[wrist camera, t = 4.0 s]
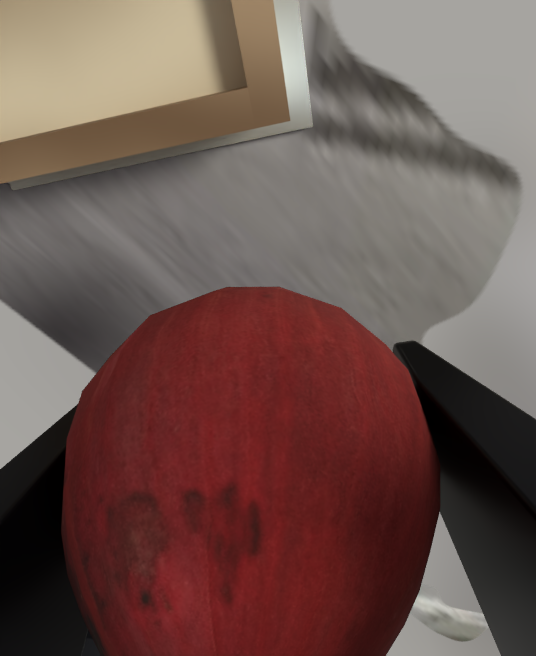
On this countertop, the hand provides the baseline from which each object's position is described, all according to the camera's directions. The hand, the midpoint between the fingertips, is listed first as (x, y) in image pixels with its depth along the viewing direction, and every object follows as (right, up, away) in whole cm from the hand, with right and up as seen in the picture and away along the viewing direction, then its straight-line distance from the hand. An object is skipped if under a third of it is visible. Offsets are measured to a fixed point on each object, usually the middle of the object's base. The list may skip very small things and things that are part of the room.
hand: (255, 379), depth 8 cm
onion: (0, +1, +2) cm, 2 cm away
